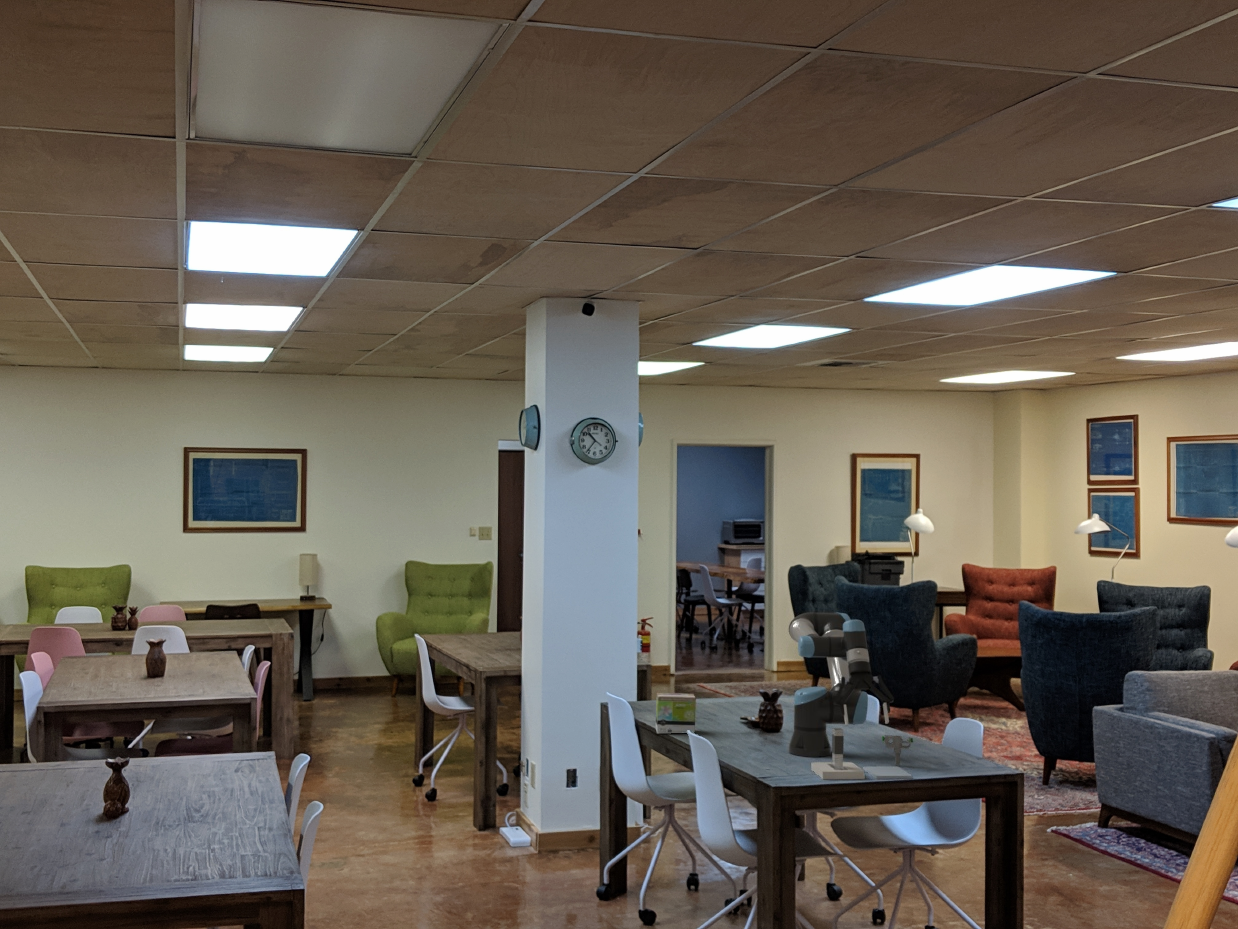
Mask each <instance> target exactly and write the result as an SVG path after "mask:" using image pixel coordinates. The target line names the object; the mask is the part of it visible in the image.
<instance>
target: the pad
mask: <svg viewBox="0 0 1238 929" xmlns="http://www.w3.org/2000/svg"><path fill="white" fill-rule="evenodd" d="M862 770H863V771H864V770H865V773H867V772H868V775H870V776H871V775H872V776H871V777H873V778H874V779H875V780H895V779H896V780H912V779H913V776H912V774H911V773H909V772H907V771H905V770H904V769H902V768H901V767H900V766H863V768H862Z"/></svg>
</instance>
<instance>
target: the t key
mask: <svg viewBox="0 0 1238 929" xmlns="http://www.w3.org/2000/svg"><path fill="white" fill-rule="evenodd" d="M844 743H845V742H844V729H843V728H841V727H838V728H837V727H835V728H832V734H831V756H832V759H831V760H832V766H830V767H832V768H833V769H834V770H844V769H843V762H844Z"/></svg>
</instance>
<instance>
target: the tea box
mask: <svg viewBox="0 0 1238 929" xmlns="http://www.w3.org/2000/svg"><path fill="white" fill-rule="evenodd" d="M655 699H656V700H655V730H656V734H671V733H682V732H684V733H686V731H687V730H690V731H693V732H695V731H696V709H697V708H696V707H697V706H696V704H697V702H696V700H697V699H696V696H695V694H694V693H681V692H680V693H678V692H677V693H676V692H673V693H672V692H656V698H655Z"/></svg>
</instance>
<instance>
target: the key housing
mask: <svg viewBox="0 0 1238 929" xmlns="http://www.w3.org/2000/svg"><path fill="white" fill-rule="evenodd" d="M810 765H811V768H810V769H811V771H812V772H813V771H814V772H815V773H814V772H813V773H814V774H816V775H817V776H818V775H819V776H820V777H821V778H820V777H819V776H818V777H819V778H820V779H821V780H865V777H866V776H865V775H866V774H865V773H866V771H864V770H863V768H860V766H857V765H856V764H855V763H853V762H851V761H850V762H845V761H843V769H844V770H834V769H833V768H832V767H830V766H832V762H831V761H830V762H825V761H824V762H823V761H821V762H811V764H810Z"/></svg>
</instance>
